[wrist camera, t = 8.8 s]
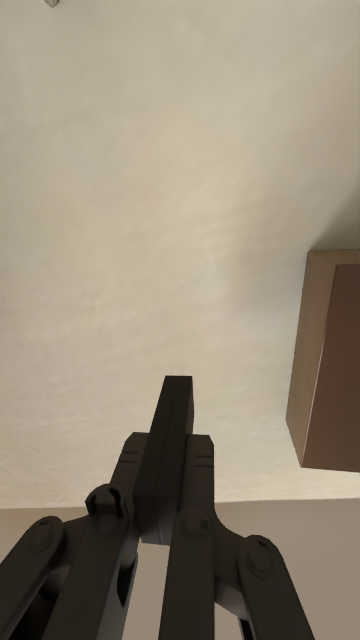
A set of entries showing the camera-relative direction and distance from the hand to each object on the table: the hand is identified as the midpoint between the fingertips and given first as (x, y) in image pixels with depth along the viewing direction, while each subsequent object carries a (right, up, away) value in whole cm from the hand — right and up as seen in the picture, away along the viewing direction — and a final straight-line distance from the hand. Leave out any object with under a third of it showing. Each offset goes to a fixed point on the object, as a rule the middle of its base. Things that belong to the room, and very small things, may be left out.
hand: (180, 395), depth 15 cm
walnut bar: (+11, +2, +4) cm, 12 cm away
